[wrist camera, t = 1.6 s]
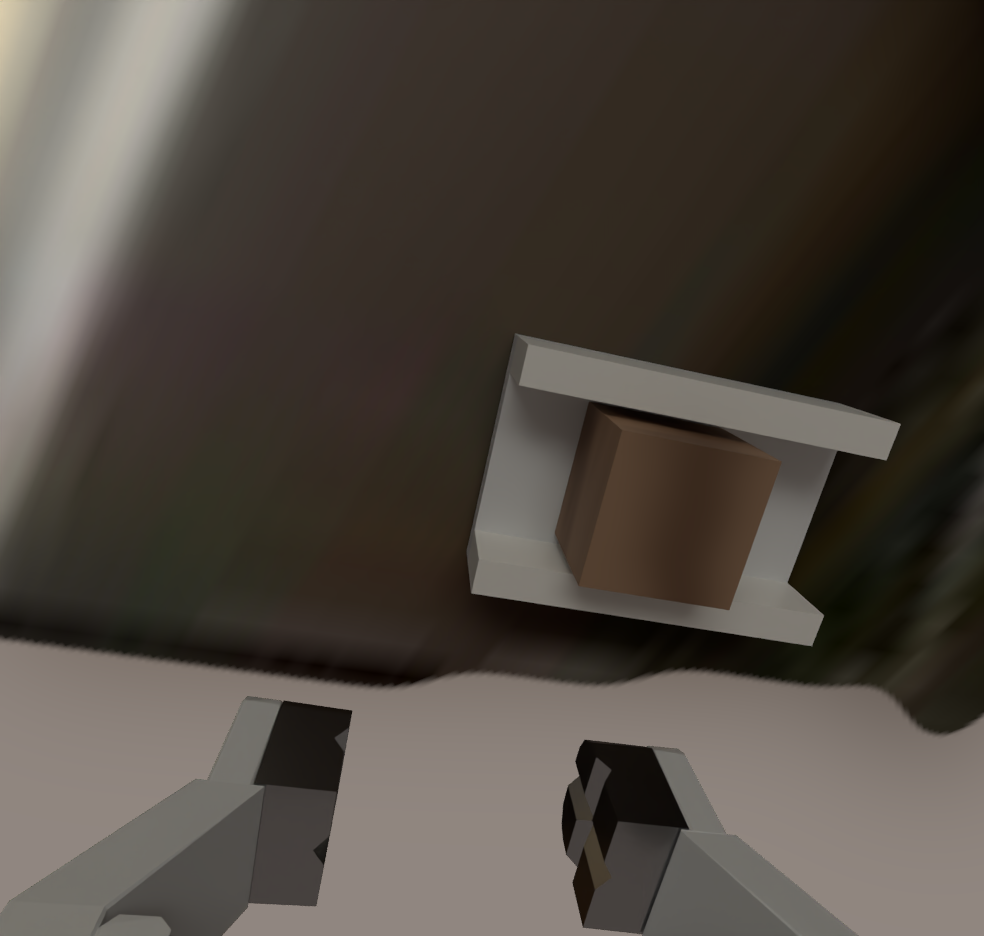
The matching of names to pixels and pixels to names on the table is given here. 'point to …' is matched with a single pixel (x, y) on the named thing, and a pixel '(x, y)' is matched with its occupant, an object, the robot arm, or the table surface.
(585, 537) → the walnut block
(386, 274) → the table surface
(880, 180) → the table surface
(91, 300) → the table surface
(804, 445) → the chute
